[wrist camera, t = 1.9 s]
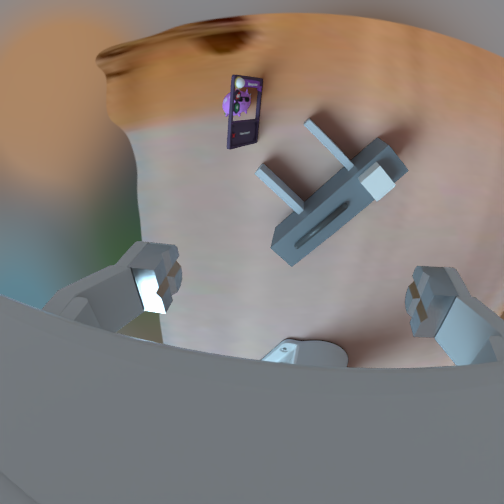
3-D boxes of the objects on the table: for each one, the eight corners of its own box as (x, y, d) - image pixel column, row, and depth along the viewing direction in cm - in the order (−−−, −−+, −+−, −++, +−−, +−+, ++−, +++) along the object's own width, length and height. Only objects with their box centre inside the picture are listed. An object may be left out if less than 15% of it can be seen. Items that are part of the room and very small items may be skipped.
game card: (234, 150, 32) (240, 74, 27) (199, 144, 34) (203, 74, 29) (262, 143, 37) (268, 79, 32) (229, 138, 39) (233, 77, 34)
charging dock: (293, 245, 45) (290, 275, 38) (235, 191, 42) (220, 213, 35) (395, 159, 35) (414, 175, 28) (335, 93, 32) (343, 92, 25)
